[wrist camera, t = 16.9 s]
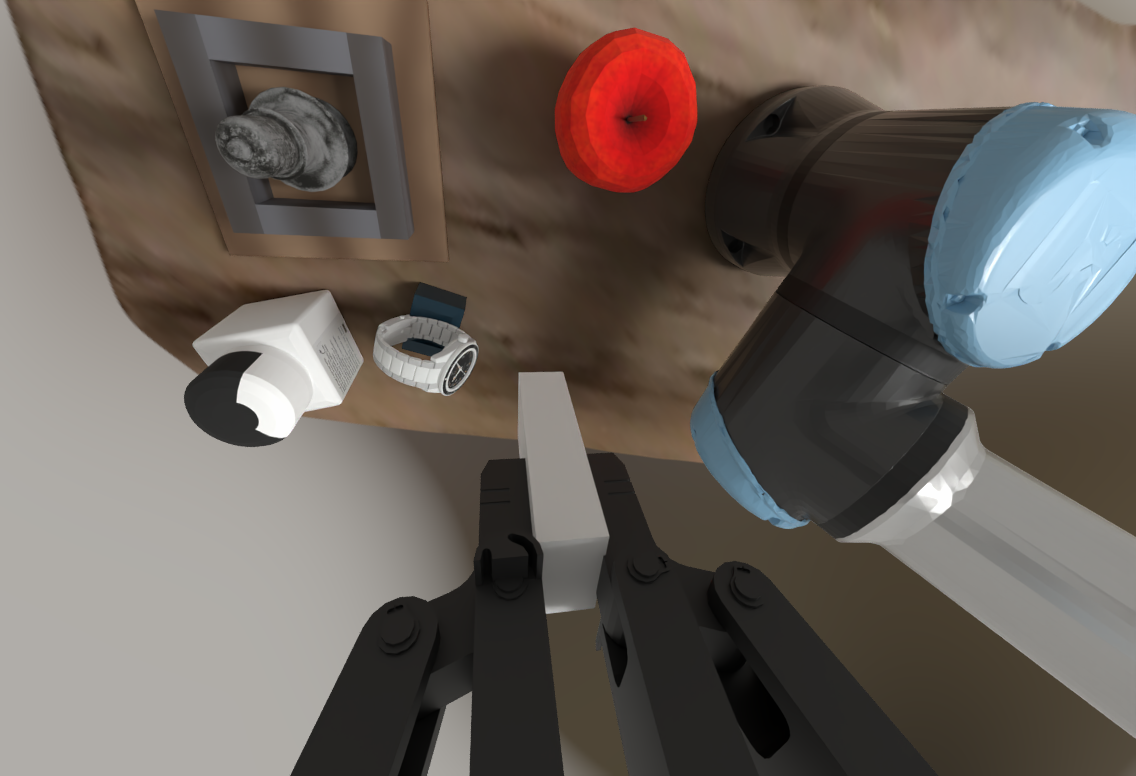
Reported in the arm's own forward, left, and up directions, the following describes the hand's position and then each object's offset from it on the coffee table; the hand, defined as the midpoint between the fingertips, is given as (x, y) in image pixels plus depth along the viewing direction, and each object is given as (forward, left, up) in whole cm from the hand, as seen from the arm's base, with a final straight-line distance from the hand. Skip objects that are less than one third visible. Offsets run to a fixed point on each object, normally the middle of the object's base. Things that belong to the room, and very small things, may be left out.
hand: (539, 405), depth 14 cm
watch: (+7, +8, -27) cm, 29 cm away
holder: (+14, -6, -26) cm, 30 cm away
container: (+19, +10, -27) cm, 34 cm away
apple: (-7, -9, -27) cm, 29 cm away
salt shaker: (+14, -6, -26) cm, 30 cm away
